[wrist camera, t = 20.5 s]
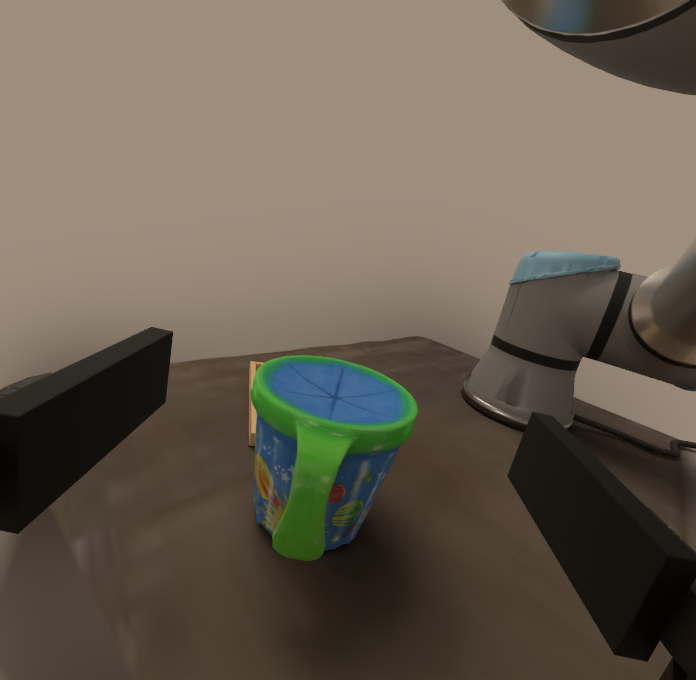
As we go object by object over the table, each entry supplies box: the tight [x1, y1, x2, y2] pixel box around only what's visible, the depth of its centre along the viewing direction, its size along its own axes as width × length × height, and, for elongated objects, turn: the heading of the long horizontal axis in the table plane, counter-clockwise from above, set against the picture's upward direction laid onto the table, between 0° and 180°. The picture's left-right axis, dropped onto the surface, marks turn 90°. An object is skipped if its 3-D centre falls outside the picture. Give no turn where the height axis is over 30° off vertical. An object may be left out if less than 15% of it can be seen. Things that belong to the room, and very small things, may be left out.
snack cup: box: [250, 355, 418, 561], centre depth 27 cm, size 16×10×10 cm
